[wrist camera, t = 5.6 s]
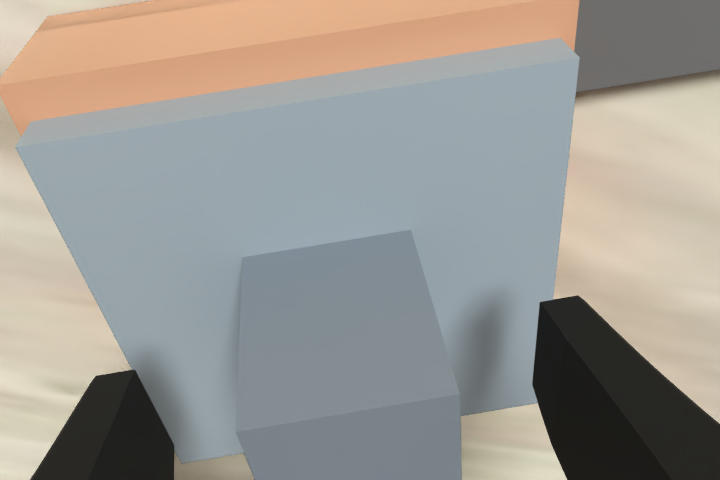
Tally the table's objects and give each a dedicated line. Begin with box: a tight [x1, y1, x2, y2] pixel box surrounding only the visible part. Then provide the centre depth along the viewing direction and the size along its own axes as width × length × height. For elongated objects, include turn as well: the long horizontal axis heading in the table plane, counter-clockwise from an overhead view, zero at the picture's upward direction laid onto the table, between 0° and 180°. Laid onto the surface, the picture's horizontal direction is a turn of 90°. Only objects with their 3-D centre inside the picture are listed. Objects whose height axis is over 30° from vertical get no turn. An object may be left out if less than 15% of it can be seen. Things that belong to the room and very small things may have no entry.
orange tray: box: [0, 0, 579, 137], centre depth 14 cm, size 9×9×3 cm
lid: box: [15, 38, 580, 480], centre depth 11 cm, size 8×8×4 cm
